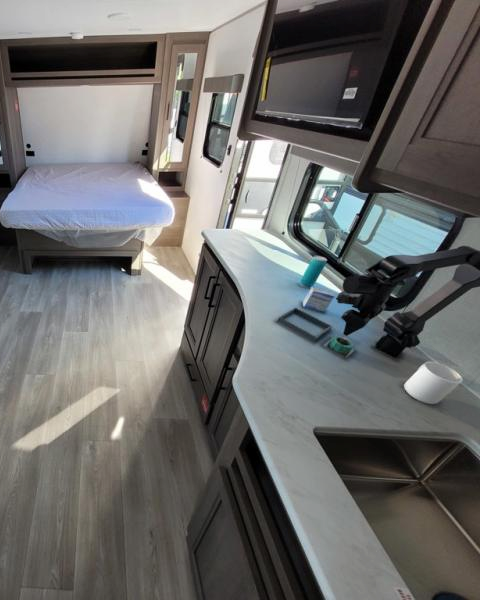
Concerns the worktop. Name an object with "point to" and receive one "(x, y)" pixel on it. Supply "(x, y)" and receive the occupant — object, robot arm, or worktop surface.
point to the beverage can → (313, 271)
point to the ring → (340, 345)
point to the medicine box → (318, 299)
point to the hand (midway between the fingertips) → (350, 330)
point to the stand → (342, 341)
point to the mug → (432, 382)
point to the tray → (301, 331)
